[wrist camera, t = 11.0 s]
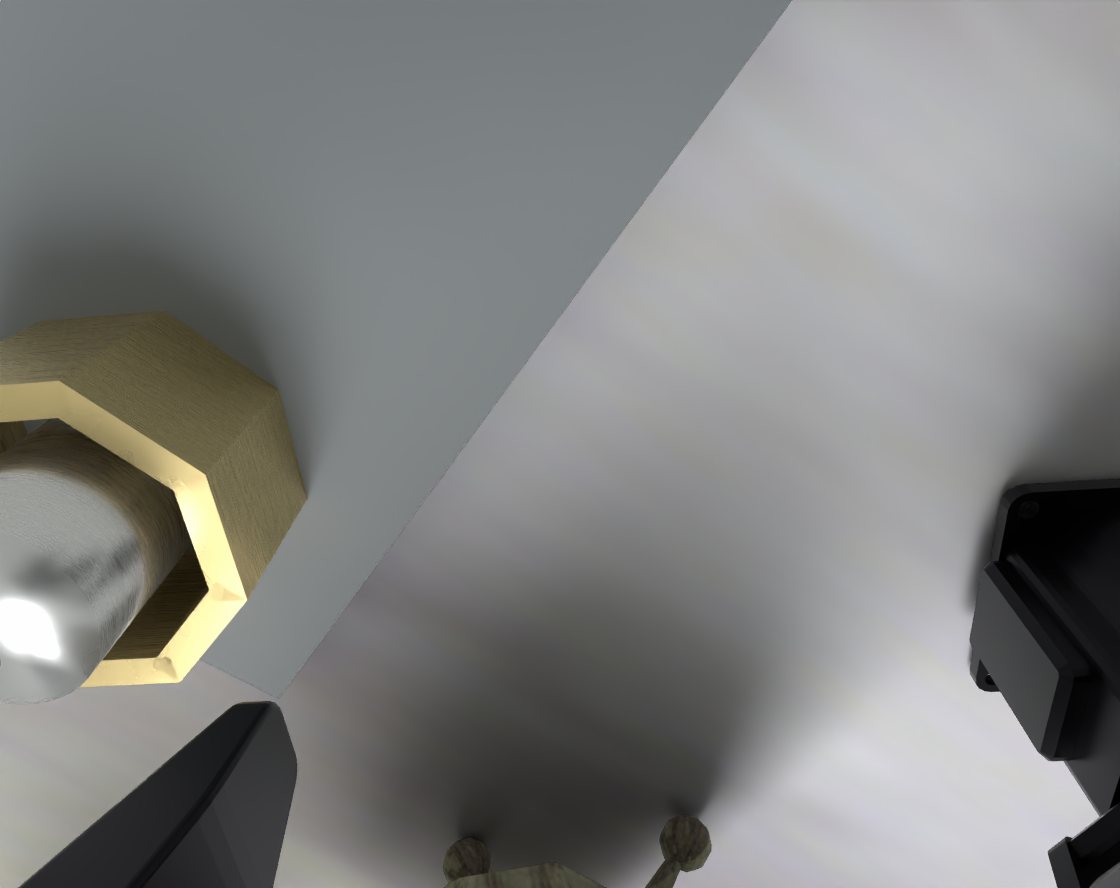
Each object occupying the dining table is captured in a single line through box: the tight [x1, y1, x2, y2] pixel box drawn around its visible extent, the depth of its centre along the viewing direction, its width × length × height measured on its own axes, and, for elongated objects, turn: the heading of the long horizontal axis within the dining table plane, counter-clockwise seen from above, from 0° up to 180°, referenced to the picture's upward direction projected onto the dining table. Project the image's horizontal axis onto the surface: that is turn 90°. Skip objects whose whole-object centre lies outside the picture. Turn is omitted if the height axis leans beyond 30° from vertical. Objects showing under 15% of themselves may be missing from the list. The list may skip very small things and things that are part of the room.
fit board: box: [0, 0, 792, 704], centre depth 14 cm, size 26×12×7 cm, turn 145°
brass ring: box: [0, 310, 308, 687], centre depth 18 cm, size 7×7×4 cm
